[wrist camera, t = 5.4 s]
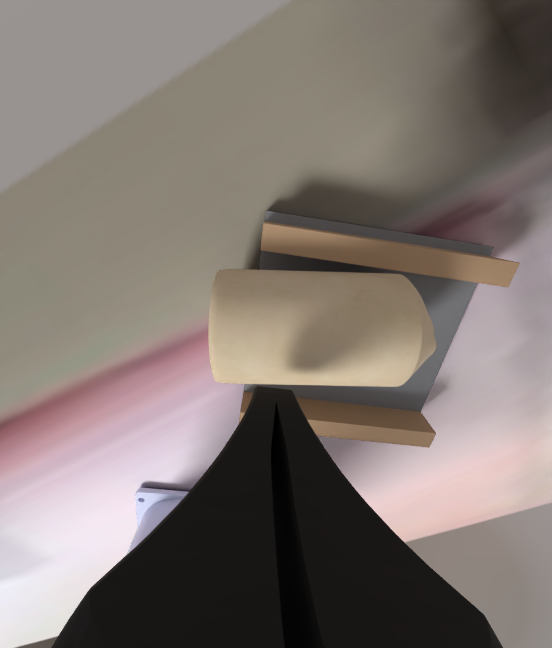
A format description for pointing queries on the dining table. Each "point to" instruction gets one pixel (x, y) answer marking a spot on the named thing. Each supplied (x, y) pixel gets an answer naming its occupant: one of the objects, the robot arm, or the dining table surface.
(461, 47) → the dining table surface
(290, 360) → the candle
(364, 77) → the dining table surface
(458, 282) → the tray
